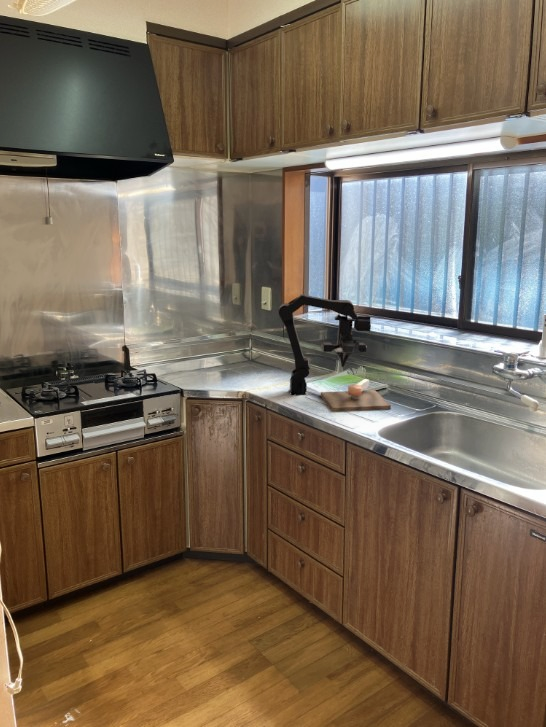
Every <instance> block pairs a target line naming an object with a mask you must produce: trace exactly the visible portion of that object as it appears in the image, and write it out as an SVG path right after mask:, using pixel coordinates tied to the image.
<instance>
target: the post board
mask: <svg viewBox="0 0 546 727" xmlns="http://www.w3.org/2000/svg"><path fill="white" fill-rule="evenodd" d="M320 395H321V396H320V397H321V398H322V399H323V401H324V402H325V404H326V405H327V407H328V408H329V409H330V411H331V412H352V411H354V412H355V411H371V410H372V411H375V410H391V409H392V408H391V404H390V403H389V402H388V401H387V400H386V399H385V398H384V397H382V395H381V394H380V393H378V392H377V391H376V390H375V389H373V390H372V389H370V390H368V389H367V390H365V389H364V390H363V391H362V395H361V396H351V395H349V394H348V390H346V391H345V390H344V391H321V392H320Z"/></svg>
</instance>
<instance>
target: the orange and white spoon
mask: <svg viewBox="0 0 546 727" xmlns="http://www.w3.org/2000/svg"><path fill="white" fill-rule="evenodd" d="M369 386H370V379H367V378H364V379H363V380H361V381H359V382H358V383H356V384H350V385H348V386H347V387H348V388H347V391H348V394H349V395H351V396H361V395H362V391H365V389H367V388H369Z"/></svg>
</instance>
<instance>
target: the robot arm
mask: <svg viewBox="0 0 546 727" xmlns="http://www.w3.org/2000/svg"><path fill="white" fill-rule="evenodd" d="M303 306H308V307H314V308H318V309H325V310H328V311H329V310H331V311H332V312H335V313H337V315H336V316H335V317H334V321H338V327H337V328H338V329H337V332H336V333H337V341H336V344H333V343H332V342H331V341H330V342H329V341H328V342H321V344H320V350H321V351H322V352H323V353H326V352H328V353H332V352H335V353H336V355H337V357H338V360H339V363H340V367H341V368H344V367H345V365H346V362H347V360H348V358H349V357H350V355H352V354H354V352H355V350H357V351H358V352H359V353H366V352H368V346H367V344H366V343H364V342H360V340H359V339H353V329H354V330H355V331H356V332H358V333H359V332H361V333H370V332H371V329H372V328H371V327H372V325H371V316H370V315H358V314H357V312H356V311H355V305H354V304H353V302H352V301H350V300H348V299H335V300H333V299H328V298H323V297H317V296H311V295H306V294H304V293H303V294H302V293H301V294H300V295H299V296H297V297H296V298H294V299H292V300H290V301H289V302H284V303H282V304H281V305H280V306H279V308H278V316H279V318H280V319H281V321H282V323H283V325H284V327H285V330H286V332H287V337H288V339H289V343H290V346H291V350H292V354H293V357H294V358H293V359H294V367H295V368H294V369H293V370H292V371H291V373H290V379H289V390H288V392H289V394H290V396H306V395H307V386H308V384H307V382H306V378H307V377H308V376H309V375H310V370H311V364H310V361H309V356H306V357H305V355H304V354H303V350H302V346H301V344H300V339H299V336H298V332H297V329H296V325H295V317H294V313H295V312H296V311H298V310H299V309H300V308H301V307H303Z"/></svg>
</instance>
